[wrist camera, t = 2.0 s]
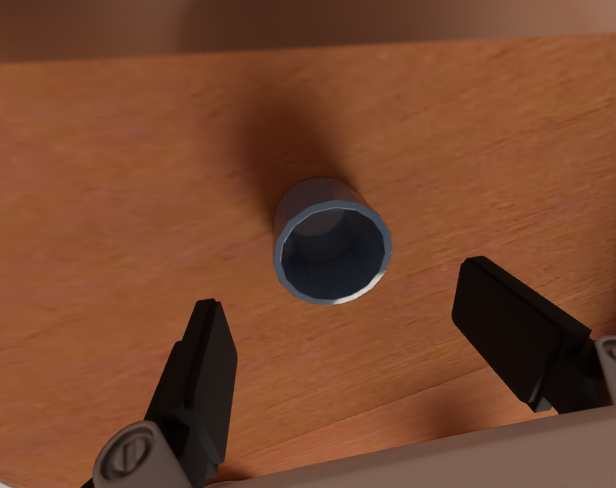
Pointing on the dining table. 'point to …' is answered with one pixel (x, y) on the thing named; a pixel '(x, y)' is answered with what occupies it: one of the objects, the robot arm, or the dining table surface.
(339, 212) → the cup
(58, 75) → the dining table surface
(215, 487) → the small pan
